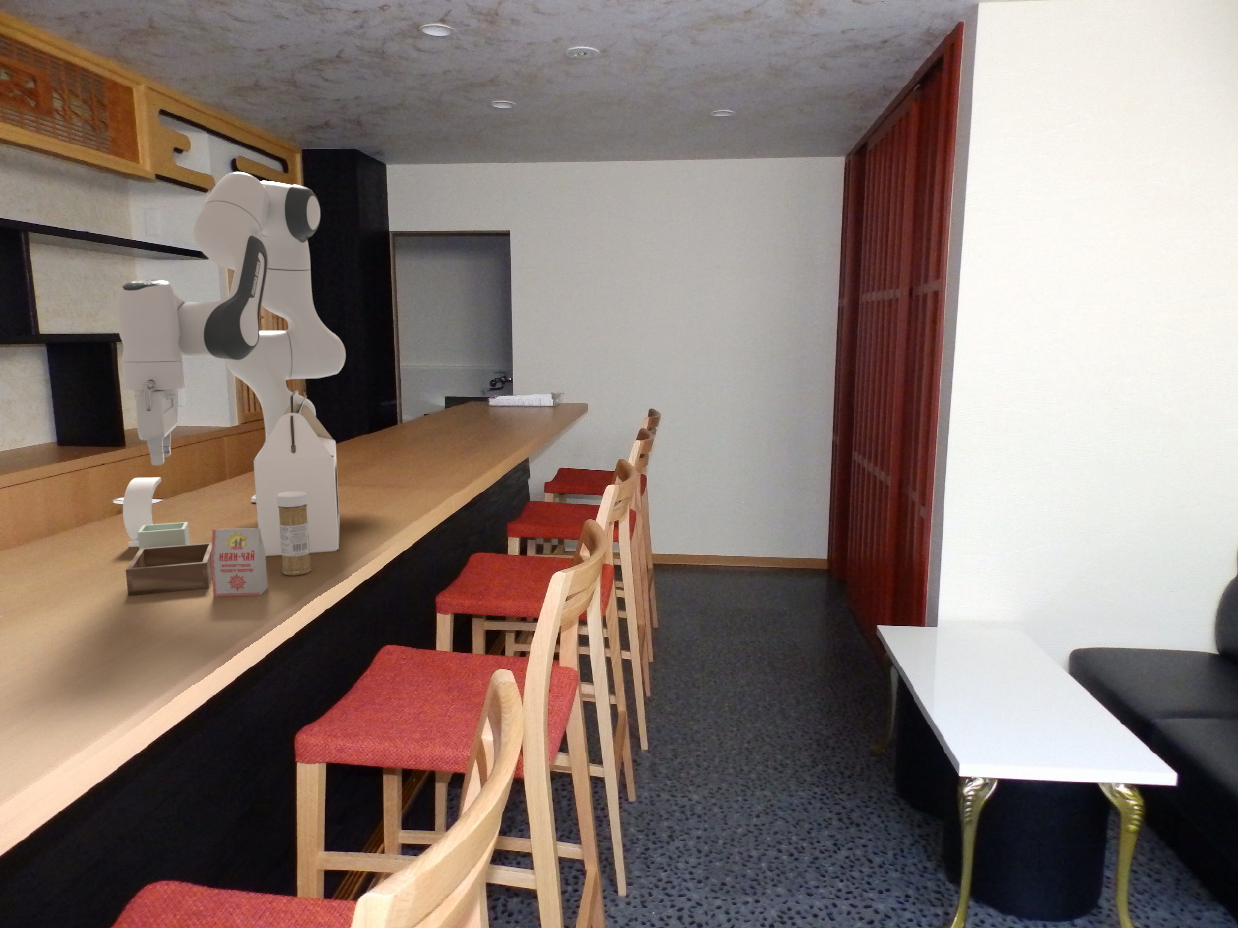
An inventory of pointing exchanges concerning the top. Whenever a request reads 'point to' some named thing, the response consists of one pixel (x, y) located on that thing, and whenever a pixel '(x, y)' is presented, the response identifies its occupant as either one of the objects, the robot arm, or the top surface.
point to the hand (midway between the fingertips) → (161, 460)
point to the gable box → (298, 478)
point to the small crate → (163, 535)
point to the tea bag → (238, 562)
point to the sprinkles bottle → (294, 532)
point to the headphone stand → (138, 506)
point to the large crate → (170, 569)
